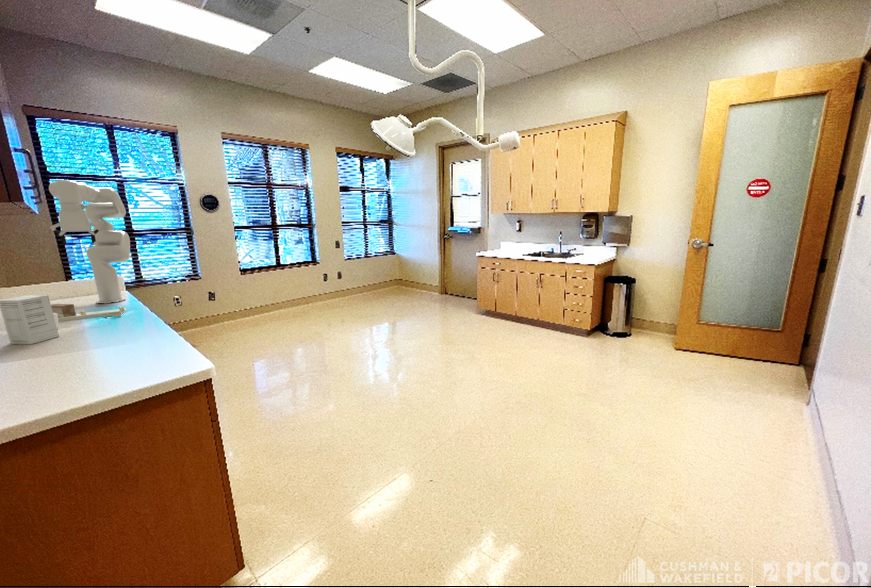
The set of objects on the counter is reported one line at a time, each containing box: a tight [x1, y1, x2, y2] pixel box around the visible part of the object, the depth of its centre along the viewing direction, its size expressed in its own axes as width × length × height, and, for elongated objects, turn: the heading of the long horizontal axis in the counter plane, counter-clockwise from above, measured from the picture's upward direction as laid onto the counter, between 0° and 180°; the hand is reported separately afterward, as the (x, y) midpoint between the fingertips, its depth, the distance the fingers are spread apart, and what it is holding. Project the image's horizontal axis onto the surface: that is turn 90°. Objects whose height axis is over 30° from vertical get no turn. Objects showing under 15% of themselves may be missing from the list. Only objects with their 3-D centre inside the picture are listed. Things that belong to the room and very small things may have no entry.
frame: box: [50, 303, 77, 318], centre depth 160 cm, size 4×10×6 cm, turn 83°
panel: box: [58, 306, 127, 323], centre depth 164 cm, size 14×27×3 cm, turn 123°
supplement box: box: [0, 294, 60, 345], centre depth 132 cm, size 10×9×17 cm
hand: (79, 243), depth 169 cm, fingers open, 9 cm apart
